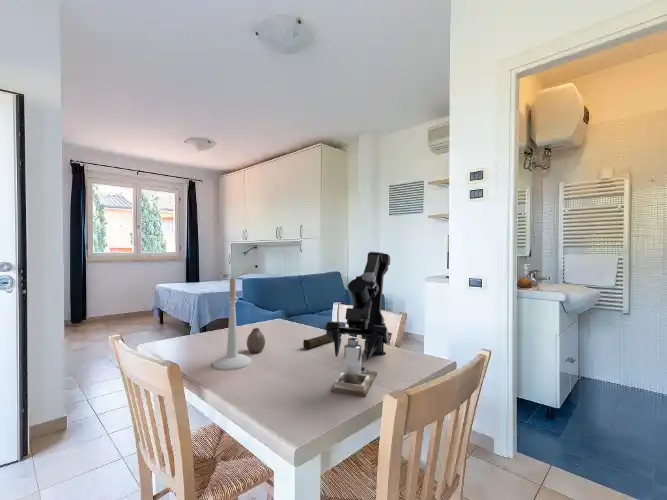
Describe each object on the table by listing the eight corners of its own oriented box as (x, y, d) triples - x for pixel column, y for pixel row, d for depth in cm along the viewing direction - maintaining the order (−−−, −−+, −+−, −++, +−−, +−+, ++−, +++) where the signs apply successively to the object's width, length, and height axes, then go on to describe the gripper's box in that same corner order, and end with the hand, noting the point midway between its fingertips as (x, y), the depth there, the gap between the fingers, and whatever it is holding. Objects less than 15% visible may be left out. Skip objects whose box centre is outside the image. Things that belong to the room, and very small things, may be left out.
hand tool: (309, 350, 133) (309, 339, 133) (302, 348, 136) (302, 337, 136) (341, 341, 147) (341, 330, 147) (334, 339, 150) (335, 329, 150)
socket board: (346, 370, 112) (346, 363, 112) (376, 374, 109) (376, 366, 109) (330, 391, 96) (330, 382, 96) (365, 397, 93) (365, 387, 93)
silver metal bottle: (351, 378, 103) (351, 336, 103) (364, 383, 100) (365, 339, 100) (340, 383, 99) (341, 339, 99) (353, 388, 96) (354, 342, 96)
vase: (242, 352, 129) (243, 329, 129) (253, 347, 136) (253, 325, 135) (258, 355, 127) (258, 331, 126) (268, 350, 133) (268, 327, 133)
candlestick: (256, 358, 123) (257, 275, 123) (241, 371, 111) (242, 279, 110) (223, 356, 125) (224, 274, 125) (205, 368, 113) (205, 278, 112)
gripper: (327, 295, 106) (314, 340, 95) (387, 299, 100) (380, 347, 90) (334, 315, 113) (323, 359, 103) (391, 320, 108) (384, 366, 97)
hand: (351, 357), depth 98 cm, fingers open, 9 cm apart
